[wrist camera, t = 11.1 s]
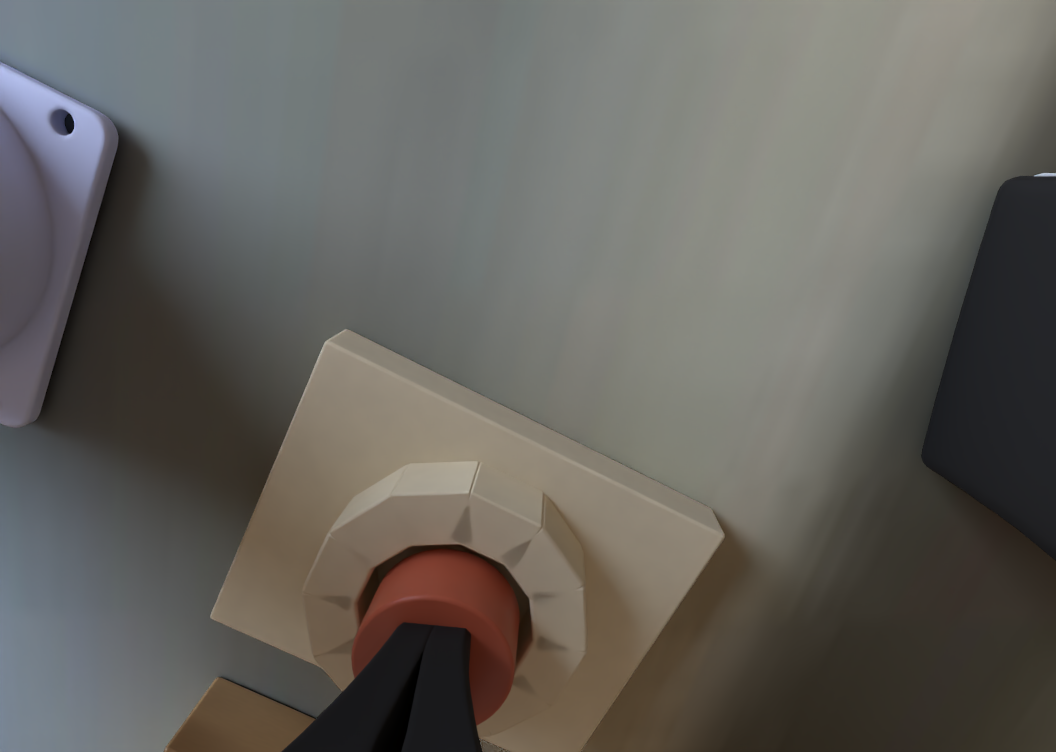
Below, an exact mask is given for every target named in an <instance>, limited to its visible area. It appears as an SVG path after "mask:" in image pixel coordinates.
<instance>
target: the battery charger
mask: <svg viewBox="0 0 1056 752" xmlns="http://www.w3.org/2000/svg"><path fill="white" fill-rule="evenodd" d="M921 457H922V460H923V463H924V464H925V465H926V466H927V467H928V468H930V469H931V470H933V471H934V472H936V473H938V474H939V475H941V476H942V477H944V478H945V479H947V480H948V481H950V482H951V483H953V484H954V485H956V486H957V487H959V488H961V489H962V490H964V491H965V492H966V493H968V494H969V495H971V496H972V497H973V498H975V499H976V500H977V501H979V502H980V503H982V504H983V505H984V506H986V507H987V508H989V509H990V510H992V511H993V512H995V513H996V514H998V515H999V516H1000V517H1002V518H1003V519H1004V520H1006V521H1007V522H1008V523H1010V524H1011V525H1012V526H1014V527H1015V528H1016V529H1018V530H1019V531H1020V532H1022V533H1023V534H1024V535H1025V536H1026V537H1028V538H1029V539H1030V540H1031V541H1033V542H1034V543H1035V544H1036V545H1037V546H1039V547H1040V548H1041V549H1042V550H1043V551H1045V552H1046V553H1047V554H1048V555H1049V556H1051V557H1052V558H1053V559H1054V560H1056V173H1041V174H1038V175H1034V176H1019V177H1015V178H1012V179H1010V180H1007V181H1005V182H1004V184H1003V185H1002V186H1001V187H1000V189H999V191H998V193H997V196H996V199H995V202H994V205H993V208H992V211H991V214H990V218H989V221H988V224H987V227H986V230H985V233H984V237H983V240H982V243H981V246H980V249H979V253H978V256H977V259H976V263H975V266H974V269H973V273H972V276H971V279H970V283H969V286H968V289H967V293H966V296H965V299H964V303H963V306H962V309H961V313H960V316H959V319H958V322H957V326H956V329H955V333H954V336H953V340H952V343H951V347H950V350H949V354H948V358H947V361H946V365H945V368H944V372H943V375H942V379H941V382H940V386H939V390H938V393H937V397H936V400H935V404H934V408H933V411H932V415H931V419H930V423H929V426H928V430H927V434H926V438H925V441H924V445H923V449H922V455H921Z"/></svg>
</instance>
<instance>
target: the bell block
mask: <svg viewBox="0 0 1056 752" xmlns="http://www.w3.org/2000/svg"><path fill="white" fill-rule="evenodd" d="M724 537H725V535H724V533H723V531H722V529H721V527H720V524H719V522H718V520H717V518H716V516H715V514H714V512H713V510H712V509H711V508H710V507H708V506H706V505H703V504H701V503H699V502H697V501H695V500H693V499H691V498H689V497H687V496H685V495H683V494H681V493H679V492H677V491H675V490H673V489H671V488H669V487H667V486H665V485H663V484H661V483H659V482H657V481H655V480H653V479H651V478H649V477H647V476H645V475H643V474H641V473H639V472H637V471H635V470H632V469H630V468H628V467H626V466H624V465H622V464H620V463H618V462H616V461H614V460H612V459H610V458H608V457H606V456H604V455H602V454H600V453H598V452H596V451H594V450H592V449H590V448H588V447H586V446H584V445H582V444H580V443H578V442H576V441H574V440H572V439H570V438H568V437H566V436H563V435H561V434H559V433H557V432H555V431H553V430H551V429H549V428H547V427H545V426H543V425H541V424H539V423H537V422H535V421H533V420H531V419H529V418H527V417H525V416H523V415H521V414H519V413H517V412H515V411H513V410H511V409H509V408H507V407H505V406H503V405H501V404H499V403H497V402H494V401H492V400H490V399H488V398H486V397H484V396H482V395H480V394H478V393H476V392H474V391H472V390H470V389H468V388H466V387H464V386H462V385H460V384H458V383H456V382H454V381H452V380H450V379H448V378H446V377H444V376H442V375H440V374H438V373H436V372H434V371H432V370H430V369H428V368H426V367H423V366H421V365H419V364H417V363H415V362H413V361H411V360H409V359H407V358H405V357H403V356H401V355H399V354H397V353H395V352H393V351H391V350H389V349H387V348H385V347H383V346H381V345H379V344H377V343H375V342H373V341H371V340H369V339H367V338H365V337H363V336H361V335H359V334H357V333H354V332H352V331H350V330H348V329H345V330H344V331H342V332H340V333H339V334H337V335H335V336H333V337H332V338H330V339H328V340H327V341H326V342H325V343H324V345H323V348H322V350H321V353H320V355H319V357H318V360H317V362H316V365H315V367H314V369H313V372H312V374H311V376H310V379H309V381H308V384H307V386H306V388H305V391H304V393H303V396H302V398H301V400H300V403H299V405H298V407H297V410H296V412H295V415H294V417H293V419H292V422H291V424H290V427H289V429H288V431H287V434H286V436H285V439H284V441H283V443H282V446H281V448H280V450H279V453H278V455H277V458H276V460H275V462H274V465H273V467H272V470H271V472H270V474H269V477H268V479H267V481H266V484H265V486H264V489H263V491H262V493H261V496H260V498H259V501H258V503H257V505H256V508H255V510H254V513H253V515H252V517H251V520H250V522H249V524H248V527H247V529H246V532H245V534H244V536H243V539H242V541H241V544H240V546H239V548H238V551H237V553H236V556H235V558H234V560H233V563H232V565H231V567H230V570H229V572H228V575H227V577H226V579H225V582H224V584H223V587H222V589H221V591H220V594H219V596H218V598H217V601H216V603H215V606H214V608H213V610H212V613H211V619H213V620H215V621H217V622H220V623H222V624H224V625H226V626H228V627H231V628H233V629H235V630H237V631H240V632H242V633H244V634H246V635H249V636H251V637H253V638H255V639H258V640H260V641H262V642H264V643H267V644H269V645H271V646H273V647H276V648H278V649H280V650H282V651H285V652H287V653H289V654H291V655H294V656H296V657H298V658H300V659H303V660H305V661H307V662H309V663H312V664H314V665H316V666H318V667H321V668H322V669H323V670H324V671H325V672H326V673H327V675H328V676H329V677H330V678H331V679H332V680H333V682H334V683H335V684H336V685H337V686H338V687H339V689H340V690H341V691H342V692H343V691H344V690H345V689H346V688H347V686H348V685H349V684H350V683H351V682H352V681H353V680H354V675H353V670H352V662H351V653H352V646H353V641H354V638H355V636H356V634H357V631H358V629H359V627H360V625H361V623H362V621H363V618H364V616H365V614H366V612H367V610H368V608H369V606H370V604H371V602H372V599H373V597H374V595H375V593H376V591H377V589H378V587H379V585H380V583H381V581H382V579H383V578H384V576H385V575H386V574H387V573H388V571H389V570H390V569H391V568H392V567H393V566H395V565H396V564H397V563H398V562H400V561H401V560H403V559H405V558H407V557H409V556H411V555H413V554H415V553H418V552H421V551H426V550H431V549H454V550H460V551H464V552H467V553H470V554H473V555H475V556H478V557H480V558H482V559H483V560H485V561H487V562H488V563H490V564H491V565H492V566H494V567H495V568H496V569H497V570H498V571H499V572H500V573H501V574H502V575H503V576H504V577H505V578H506V580H507V581H508V583H509V584H510V586H511V587H512V589H513V591H514V593H515V595H516V598H517V601H518V605H519V612H520V622H519V633H518V643H517V654H516V664H515V674H514V680H513V684H512V687H511V691H510V693H509V695H508V697H507V699H506V700H505V701H504V703H503V704H502V706H501V707H500V708H499V709H498V710H497V711H496V712H495V713H494V714H493V715H492V716H491V717H490V718H488V719H487V720H486V721H484V722H482V723H481V724H479V725H477V731H478V736H479V738H480V739H482V740H485V741H487V742H489V743H491V744H494V745H496V746H498V747H500V748H503V749H505V750H507V751H509V752H580V751H581V750H582V748H583V747H584V745H585V744H586V743H587V741H588V740H589V738H590V737H591V735H592V734H593V732H594V731H595V729H596V728H597V726H598V725H599V723H600V722H601V720H602V719H603V717H604V716H605V714H606V713H607V711H608V710H609V708H610V707H611V706H612V704H613V703H614V701H615V700H616V698H617V697H618V695H619V694H620V692H621V691H622V689H623V688H624V686H625V685H626V683H627V682H628V680H629V679H630V677H631V676H632V674H633V673H634V671H635V670H636V668H637V667H638V666H639V664H640V663H641V661H642V660H643V658H644V657H645V655H646V654H647V652H648V651H649V649H650V648H651V646H652V645H653V643H654V642H655V640H656V639H657V637H658V636H659V634H660V633H661V631H662V630H663V628H664V627H665V626H666V624H667V623H668V621H669V620H670V618H671V617H672V615H673V614H674V612H675V611H676V609H677V608H678V606H679V605H680V603H681V602H682V600H683V599H684V597H685V596H686V594H687V593H688V591H689V590H690V588H691V587H692V586H693V584H694V583H695V581H696V580H697V578H698V577H699V575H700V574H701V572H702V571H703V569H704V568H705V566H706V565H707V563H708V562H709V560H710V559H711V557H712V556H713V554H714V553H715V551H716V550H717V549H718V547H719V546H720V544H721V543H722V541H723V540H724Z"/></svg>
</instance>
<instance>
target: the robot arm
mask: <svg viewBox="0 0 1056 752" xmlns="http://www.w3.org/2000/svg"><path fill="white" fill-rule="evenodd" d="M68 113H69V114H71V116H72V118H73V120H74V130H73V131H72V133H71V134H70V133H68V132H67V130H66V127H65V117H66V116H67V114H68ZM118 138H119V137H118V133H117V129H116V127H115V125H114V124H113V122H112V121H111V119H109V118H108V117H107V116H105V115H104V114H103V113H101V112H99V111H97V110H95V109H93V108H91V107H89V106H87V105H85V104H83V103H81V102H79V101H77V100H75V99H73V98H71V97H69V96H67V95H65V94H63V93H61V92H59V91H57V90H55V89H53V88H51V87H49V86H48V85H46V84H44V83H42V82H40V81H38V80H36V79H34V78H32V77H30V76H28V75H26V74H24V73H22V72H20V71H18V70H16V69H14V68H12V67H10V66H8V65H6V64H4V63H2V62H0V424H3V425H5V426H8V427H12V428H18V427H22V426H25V425H27V424H30V423H32V422H33V421H35V420H36V419H37V418H38V416H39V414H40V411H41V408H42V404H43V401H44V398H45V394H46V391H47V387H48V384H49V380H50V377H51V374H52V370H53V367H54V363H55V360H56V356H57V353H58V350H59V346H60V343H61V339H62V336H63V332H64V329H65V326H66V322H67V319H68V315H69V312H70V308H71V305H72V302H73V298H74V295H75V291H76V288H77V284H78V281H79V278H80V274H81V271H82V267H83V264H84V260H85V257H86V254H87V250H88V247H89V243H90V240H91V236H92V233H93V229H94V226H95V223H96V219H97V216H98V212H99V209H100V205H101V202H102V199H103V195H104V192H105V188H106V185H107V181H108V178H109V175H110V171H111V168H112V164H113V161H114V157H115V154H116V151H117V147H118ZM470 646H471V633H470V632H469V631H468V630H467V629H466V628H459V627H448V626H438V625H428V624H417V623H407V622H403V623H402V624H401V625H399V626H398V627H397V628H396V630H395V631H394V632H393V634H392V635H391V636H390V637H389V639H388V640H387V641H386V642H385V644H384V645H383V646H382V647H381V649H380V650H379V651H378V652H377V654H376V655H375V656H374V657H373V658H372V659H371V661H370V662H369V663H368V664H367V665H366V666H365V668H364V669H363V670H362V671H361V672H360V673H359V674H358V675H357V677H356V678H355V679H354V680H353V681H352V682H351V683H350V684H349V685H348V686H347V688H346V689H345V690H344V691H343V692H342V693H341V694H340V695H339V696H338V697H337V698H336V699H335V701H334V702H333V703H332V704H331V705H330V706H329V707H328V708H327V709H326V710H325V711H324V712H323V713H322V714H320V715H319V716H318V717H317V718H316V719H315V720H314V721H313V722H312V723H311V724H310V725H309V726H308V727H307V728H306V729H305V730H304V731H303V732H302V733H301V734H300V735H299V736H298V737H297V738H296V739H295V740H294V741H292V742H291V743H290V744H289V745H288V746H287V747H286V748H285V749H284V750H282V751H281V752H482V748H481V744H480V740H479V736H478V731H477V726H476V721H475V715H474V709H473V703H472V696H471V689H470V680H469V663H470Z"/></svg>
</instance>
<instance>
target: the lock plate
mask: <svg viewBox="0 0 1056 752" xmlns="http://www.w3.org/2000/svg"><path fill="white" fill-rule="evenodd" d="M314 720H315V718H312V717H310V716H308V715H305V714H303V713H301V712H299V711H296V710H294V709H292V708H289V707H287V706H285V705H283V704H280V703H278V702H276V701H273V700H271V699H269V698H267V697H264V696H262V695H260V694H257V693H255V692H253V691H251V690H248V689H246V688H244V687H241V686H239V685H237V684H235V683H232V682H230V681H228V680H225V679H223V678H221V677H217V678H216V679H215V680H214V681H213V683H212V684H211V685H210V687H209V688H208V690H207V691H206V692H205V694H204V695H203V696H202V698H201V699H200V701H199V702H198V703H197V705H196V706H195V708H194V709H193V710H192V712H191V713H190V714H189V716H188V717H187V719H186V720H185V721H184V723H183V724H182V725H181V727H180V728H179V730H178V731H177V732H176V734H175V735H174V737H173V738H172V739H171V741H170V742H169V743H168V745H167V746H166V748H165V750H164V752H281V751H282V750H284V749H285V748H286V747H287V746H288V745H289V744H290V743H291V742H292V741H294V740H295V739H296V738H297V737H298V736H299V735H300V734H301V733H302V732H303V731H304V730H305V729H306V728H307V727H308V726H309V725H310V724H311V723H312V722H313V721H314Z"/></svg>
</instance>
